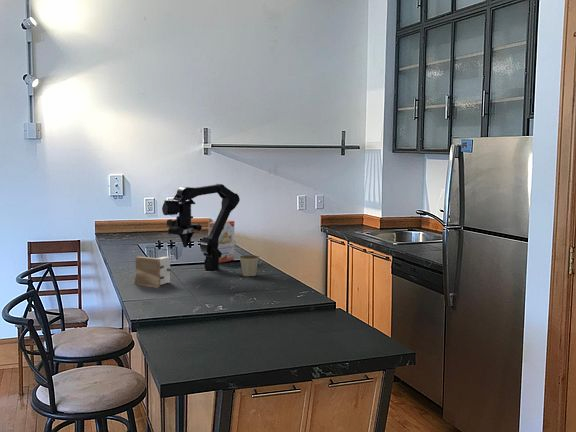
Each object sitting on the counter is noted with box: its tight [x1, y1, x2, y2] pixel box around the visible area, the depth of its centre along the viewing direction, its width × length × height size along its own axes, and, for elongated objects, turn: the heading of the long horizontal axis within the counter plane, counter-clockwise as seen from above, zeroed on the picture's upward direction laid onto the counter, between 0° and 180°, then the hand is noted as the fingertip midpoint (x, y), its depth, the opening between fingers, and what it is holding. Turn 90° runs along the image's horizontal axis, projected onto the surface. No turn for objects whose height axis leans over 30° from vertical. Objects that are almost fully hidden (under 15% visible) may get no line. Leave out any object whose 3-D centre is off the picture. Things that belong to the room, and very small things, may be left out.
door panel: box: [156, 256, 172, 286], centre depth 276 cm, size 8×4×11 cm, turn 152°
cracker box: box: [207, 219, 235, 264], centre depth 331 cm, size 14×6×21 cm, turn 143°
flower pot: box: [238, 254, 260, 277], centre depth 297 cm, size 9×9×9 cm
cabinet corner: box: [134, 256, 164, 289], centre depth 279 cm, size 15×14×12 cm
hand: (185, 247), depth 301 cm, fingers closed
